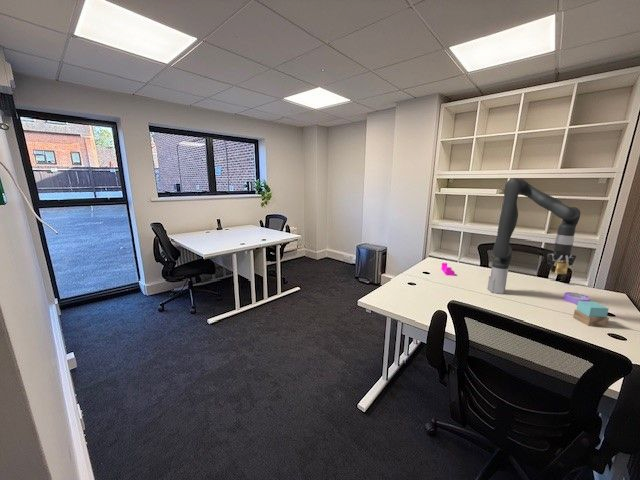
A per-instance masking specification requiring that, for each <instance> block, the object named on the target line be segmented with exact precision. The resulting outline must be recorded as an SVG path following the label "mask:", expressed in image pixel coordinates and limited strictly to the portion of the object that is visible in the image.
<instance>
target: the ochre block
mask: <svg viewBox="0 0 640 480" xmlns="http://www.w3.org/2000/svg"><path fill="white" fill-rule="evenodd" d="M568 267H569V266H568V264H567V263H564V262H562V260H561V261H559V262H558V263H557V264H556V269H555V272H552V271H551V270H549V272H551V273H553V274H556V275H567V272H568ZM550 269H551V267H550Z"/></svg>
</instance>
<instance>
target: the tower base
mask: <svg viewBox="0 0 640 480" xmlns="http://www.w3.org/2000/svg"><path fill="white" fill-rule="evenodd" d="M572 317H573V319H575V320H576V321H579V322H580V323H582V324H584V325H586V326H587V327H603V328H604V327H605V328H607V327H608V324H609V320H610V318H609V317H607V318H606V317H589V316H587V315H585V314H584V313H582V312H580V311H578V310H576V309H574V312H573V316H572Z"/></svg>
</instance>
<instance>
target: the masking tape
mask: <svg viewBox="0 0 640 480" xmlns="http://www.w3.org/2000/svg"><path fill="white" fill-rule="evenodd" d="M563 294H564V295H563V300H564V301H566V302H568V303H571V304H574V305H578V301H587V302H591V297H589V296H588V295H585V294H583V293H578V292H571V291H570V292H568V291H567V292H564V293H563Z"/></svg>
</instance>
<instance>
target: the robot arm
mask: <svg viewBox="0 0 640 480" xmlns="http://www.w3.org/2000/svg"><path fill="white" fill-rule="evenodd" d="M503 192H504V193H503V201H502V206H501V207H502V208H501V212H500V217H499V221H498V228H497V232H496V233H497V234H496V239H495V241H494V245H493V247H492V254H493V256H494V259H493V260H492V263H491V270H490V275H489V276H488V282H487V288H486V289H487V291H489V292H491V293H495V294H505V292H506V287H507V279H508V273H509V269H510V268H509V267H510V264H511V260H512V255H513V248H512V246H511V245H510V241H511V238H512V235H513V233H514V232H515V229H516V226H517V222H518V219H519V218H518V217H519V210H518V204H517V203H518V197H519V195H521V196H524V197H526V198H529V199H530V200H532V201H533V202H534V203H536V204H537V205H538V206H540V207H541V208H542V209H543V208H544V210H547V211H549V212H551V213H552V214H554V215H555V216H556V217H558V218H560V219H562V221H561V223H560V224H559V225H558V227H557V231H556V236H555V241H554V245H553V252H552V253H547V254H546V260H547V261H546V262H547V264H549V265H550V268H551V269H550V270H551V271H552V272H551V271H550V270H549V271H550V272H551V273H553V272H555V269H556V264H557V263H558V262H559V261H561V262H564V263H567V264H568V267H569V266H573V264H574V262H575V260H576V258H577V255H575V254H572V253H571V252H572V251H573V247H574V246H573V245H574V240H575V234H576V228H577V225H578V223H579V220H580V217H581V210H580V209H579V207H575V206H569V205H566V204H564V203H563V202H562V201H561V200H560V199H557V198H555V197H553V195H552V196H551V195H549V194H547V193H545V192H544V191H541V190H539V189H537V188H536V187H534V186H532V185H531V184H530V183H528V182H527V181H526V180H525V179H523V178H516V177H515V178H510V179H509V180H508V181H506V183H505V185H504V191H503Z"/></svg>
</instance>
